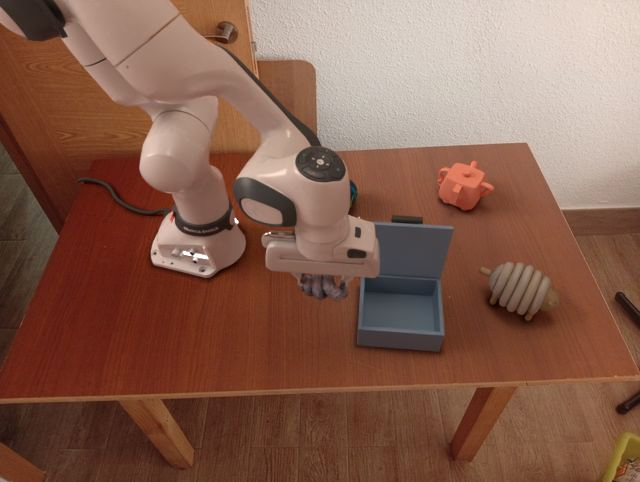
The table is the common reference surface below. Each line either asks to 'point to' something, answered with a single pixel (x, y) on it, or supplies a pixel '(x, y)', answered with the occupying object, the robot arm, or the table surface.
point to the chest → (401, 312)
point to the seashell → (323, 287)
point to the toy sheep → (521, 289)
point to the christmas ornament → (353, 193)
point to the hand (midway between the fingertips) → (323, 282)
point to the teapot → (463, 185)
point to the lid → (412, 246)
